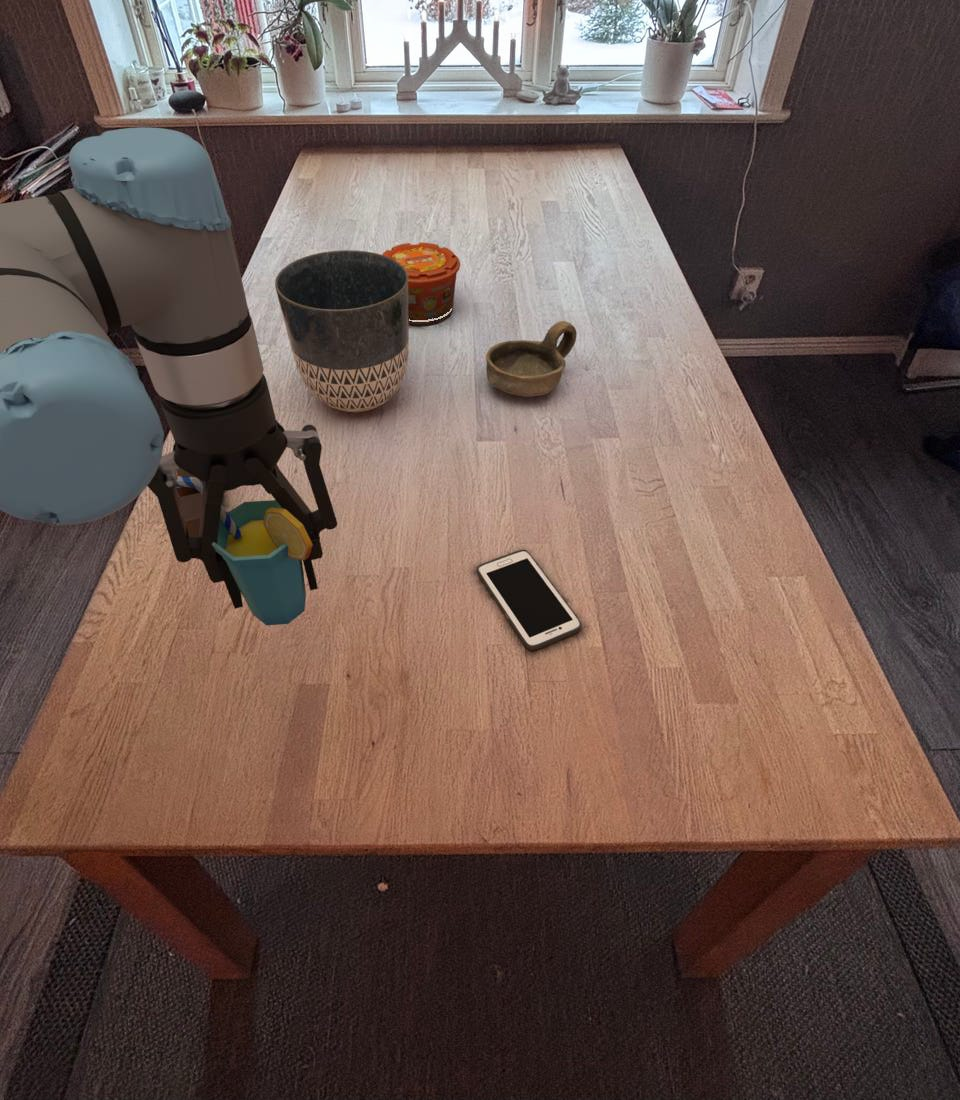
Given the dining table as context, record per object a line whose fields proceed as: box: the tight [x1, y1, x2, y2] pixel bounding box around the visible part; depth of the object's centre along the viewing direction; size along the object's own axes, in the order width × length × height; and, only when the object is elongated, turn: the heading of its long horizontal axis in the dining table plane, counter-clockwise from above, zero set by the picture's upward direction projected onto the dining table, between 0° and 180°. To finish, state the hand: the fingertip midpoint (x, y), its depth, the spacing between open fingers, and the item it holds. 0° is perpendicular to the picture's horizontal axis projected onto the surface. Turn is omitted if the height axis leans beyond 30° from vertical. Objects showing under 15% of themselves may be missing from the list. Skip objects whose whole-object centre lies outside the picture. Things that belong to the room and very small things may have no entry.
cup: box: [175, 476, 313, 626], centre depth 61 cm, size 14×8×15 cm, turn 74°
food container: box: [381, 242, 461, 327], centre depth 134 cm, size 16×16×11 cm
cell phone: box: [476, 549, 582, 651], centre depth 86 cm, size 8×15×1 cm, turn 27°
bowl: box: [485, 320, 577, 397], centre depth 117 cm, size 14×18×10 cm
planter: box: [274, 249, 410, 413], centre depth 108 cm, size 20×20×21 cm
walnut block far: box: [176, 468, 204, 497], centre depth 96 cm, size 5×5×5 cm
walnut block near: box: [178, 493, 203, 537], centre depth 92 cm, size 5×5×5 cm
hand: (275, 587), depth 65 cm, fingers closed on cup, 6 cm apart
